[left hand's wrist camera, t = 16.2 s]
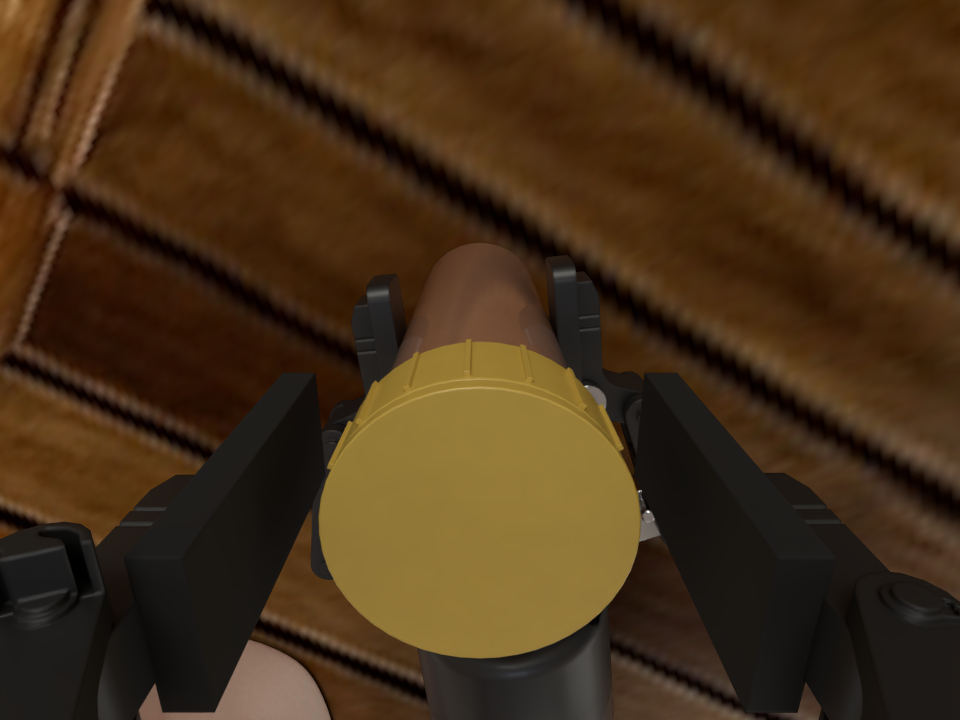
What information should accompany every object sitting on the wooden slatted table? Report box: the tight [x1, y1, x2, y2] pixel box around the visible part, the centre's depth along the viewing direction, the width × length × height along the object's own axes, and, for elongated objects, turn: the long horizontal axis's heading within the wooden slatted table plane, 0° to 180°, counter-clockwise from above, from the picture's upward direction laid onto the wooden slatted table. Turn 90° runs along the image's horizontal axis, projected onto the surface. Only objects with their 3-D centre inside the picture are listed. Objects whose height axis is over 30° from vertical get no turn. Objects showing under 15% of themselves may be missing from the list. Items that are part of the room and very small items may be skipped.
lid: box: [318, 339, 641, 658], centre depth 11 cm, size 6×6×2 cm
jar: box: [390, 243, 568, 372], centre depth 18 cm, size 5×5×16 cm
